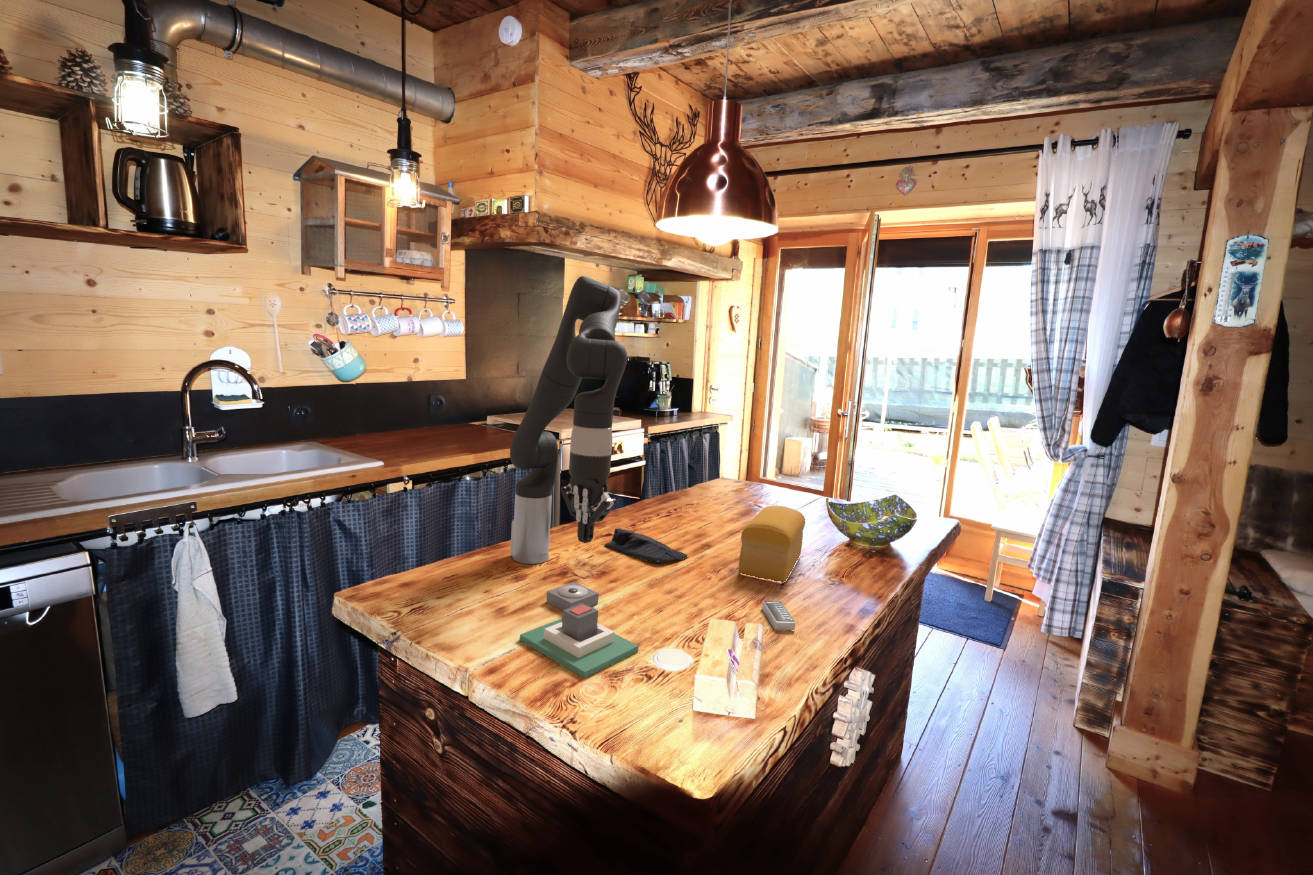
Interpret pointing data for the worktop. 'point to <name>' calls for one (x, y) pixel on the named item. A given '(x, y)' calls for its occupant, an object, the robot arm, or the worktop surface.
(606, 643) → the circuit board
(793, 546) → the bread
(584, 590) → the grey square domed block
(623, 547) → the dark slate chunk
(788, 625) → the multiport hub
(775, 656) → the worktop surface
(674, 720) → the worktop surface
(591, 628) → the keyed plug
